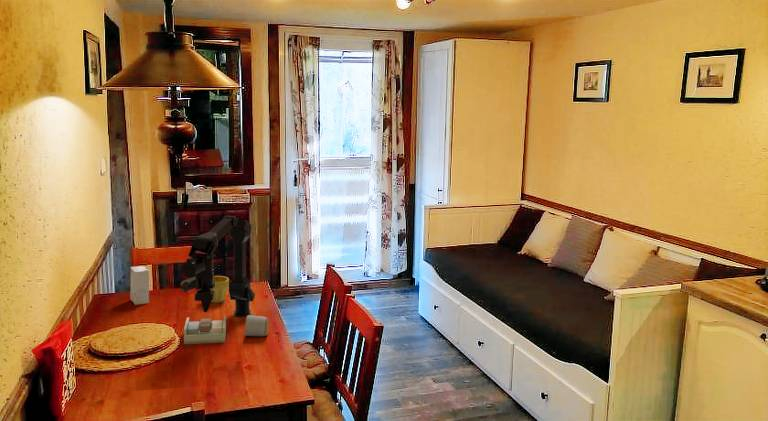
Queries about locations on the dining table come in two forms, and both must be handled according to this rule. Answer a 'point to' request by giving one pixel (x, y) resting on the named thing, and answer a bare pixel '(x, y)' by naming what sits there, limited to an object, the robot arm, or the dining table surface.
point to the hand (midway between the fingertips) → (205, 311)
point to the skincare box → (139, 285)
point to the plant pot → (220, 288)
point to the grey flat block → (193, 327)
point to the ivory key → (217, 326)
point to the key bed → (204, 335)
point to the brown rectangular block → (205, 325)
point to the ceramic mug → (256, 326)
